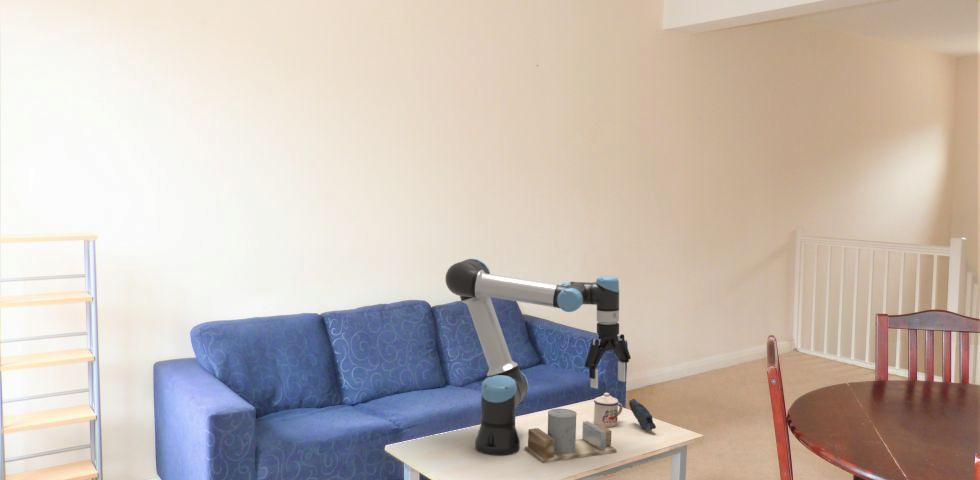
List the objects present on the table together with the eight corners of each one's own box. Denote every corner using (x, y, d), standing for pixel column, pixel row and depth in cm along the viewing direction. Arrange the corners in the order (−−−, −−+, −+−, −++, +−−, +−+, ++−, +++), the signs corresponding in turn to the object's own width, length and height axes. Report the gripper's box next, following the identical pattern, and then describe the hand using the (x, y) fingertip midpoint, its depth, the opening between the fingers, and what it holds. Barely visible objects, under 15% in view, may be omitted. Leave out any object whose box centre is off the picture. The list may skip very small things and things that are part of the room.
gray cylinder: (575, 444, 264) (576, 409, 263) (575, 454, 254) (576, 418, 253) (547, 443, 265) (548, 407, 264) (546, 453, 255) (547, 416, 254)
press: (542, 462, 249) (542, 441, 249) (524, 449, 261) (525, 429, 261) (616, 452, 260) (617, 431, 260) (596, 439, 272) (597, 420, 272)
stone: (662, 432, 281) (663, 405, 281) (651, 435, 278) (652, 408, 277) (632, 422, 292) (633, 396, 291) (621, 425, 288) (622, 399, 288)
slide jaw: (600, 450, 258) (601, 432, 258) (582, 438, 269) (582, 421, 269) (615, 447, 261) (616, 430, 260) (597, 436, 272) (597, 419, 271)
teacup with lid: (603, 428, 284) (604, 397, 283) (588, 421, 292) (589, 391, 291) (629, 424, 290) (630, 394, 289) (613, 417, 298) (614, 387, 297)
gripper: (590, 328, 251) (590, 393, 253) (640, 319, 266) (640, 380, 268) (573, 325, 257) (574, 388, 258) (624, 316, 272) (624, 376, 274)
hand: (608, 384), depth 263 cm, fingers open, 13 cm apart
